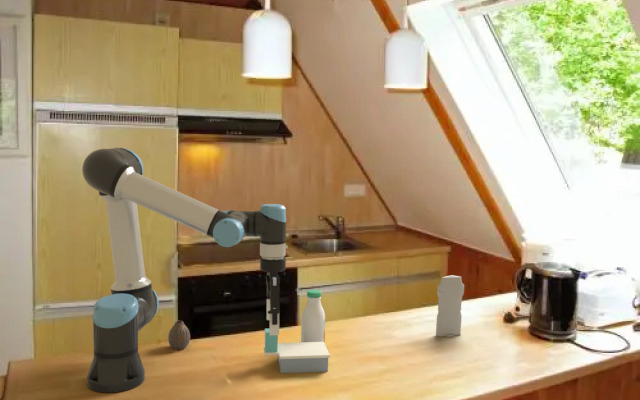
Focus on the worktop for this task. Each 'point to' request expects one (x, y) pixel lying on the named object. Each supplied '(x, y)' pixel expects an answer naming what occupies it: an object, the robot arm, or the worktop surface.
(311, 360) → the tub
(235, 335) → the worktop surface
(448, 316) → the tall pale column
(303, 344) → the lid
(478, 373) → the worktop surface
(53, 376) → the worktop surface
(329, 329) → the worktop surface
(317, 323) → the milk bottle
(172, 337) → the vase
